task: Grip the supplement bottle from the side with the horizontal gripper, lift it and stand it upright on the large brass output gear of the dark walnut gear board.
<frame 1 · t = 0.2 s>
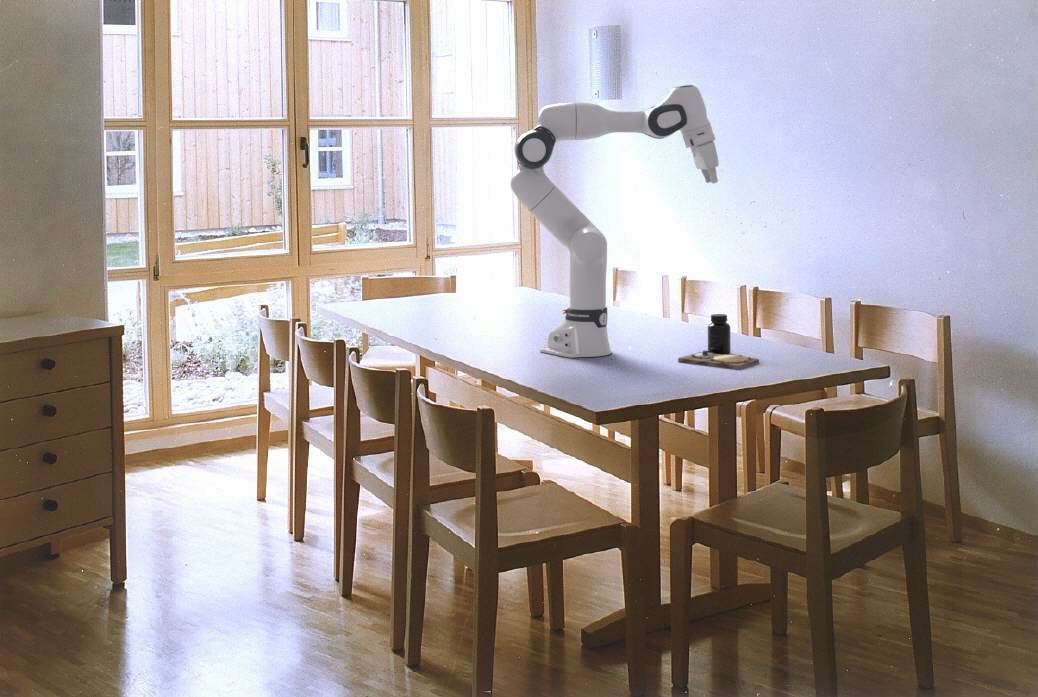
hand: (712, 182, 363), 51 cm above the table, tool tilted 15°, fingers open, 8 cm apart
supplement bottle: (718, 354, 368), on the table
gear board: (718, 362, 354), on the table
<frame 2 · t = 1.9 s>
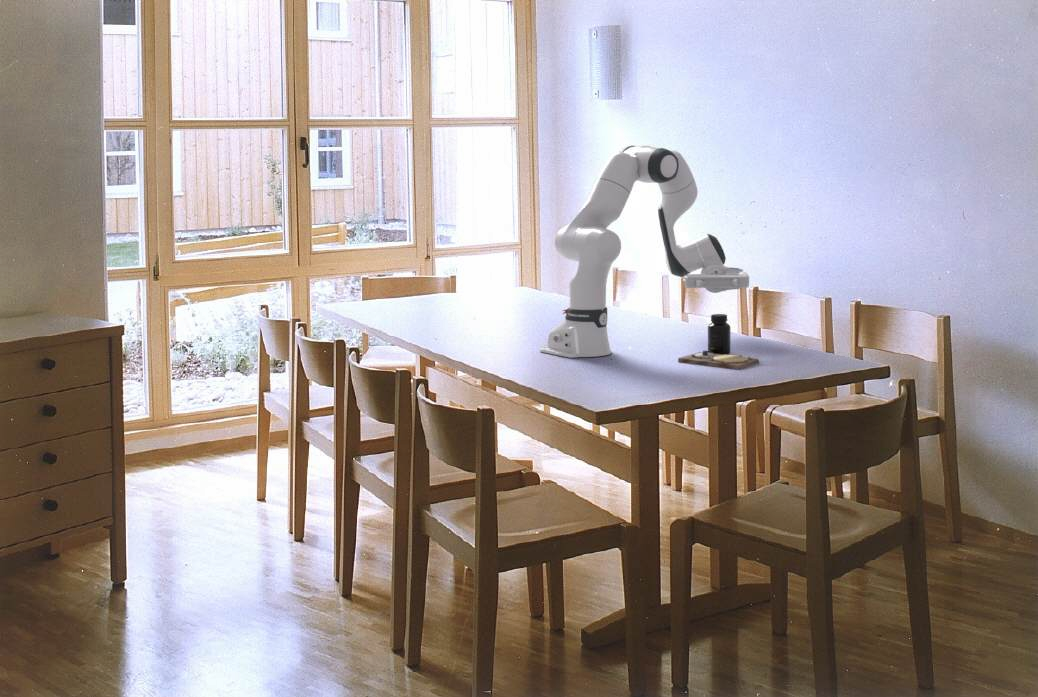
hand: (717, 284, 376), 20 cm above the table, tool horizontal, fingers open, 8 cm apart
nothing on the table moved.
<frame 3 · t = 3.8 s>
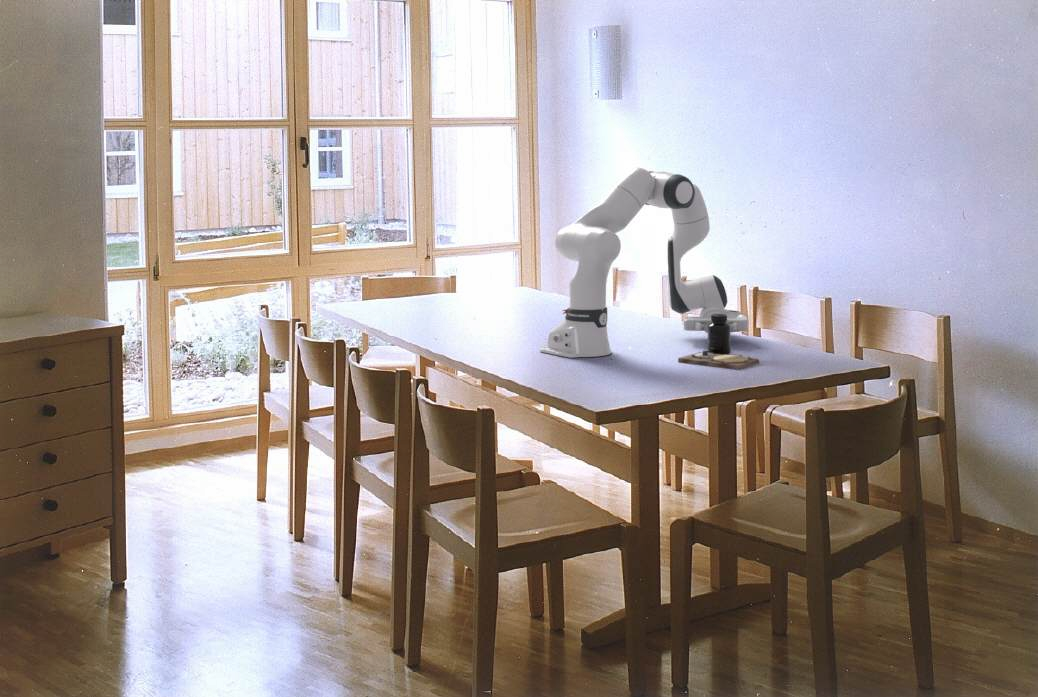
hand: (716, 327, 376), 6 cm above the table, tool horizontal, fingers open, 8 cm apart
nothing on the table moved.
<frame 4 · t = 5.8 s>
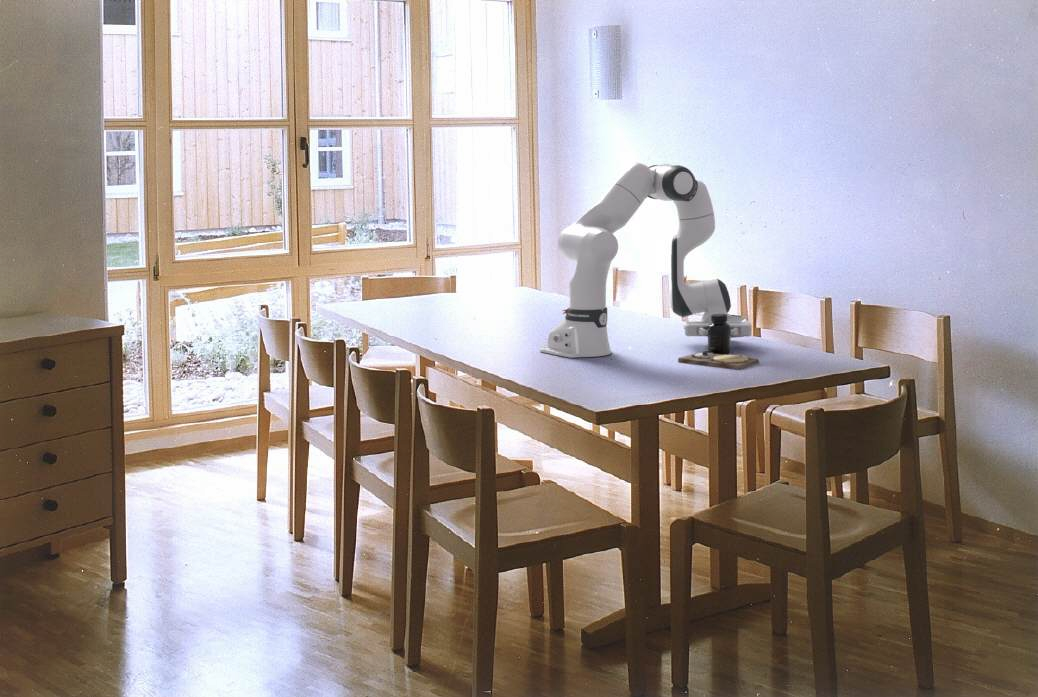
hand: (719, 333, 366), 7 cm above the table, tool horizontal, fingers closed on supplement bottle, 7 cm apart
supplement bottle: (718, 354, 368), on the table, touching gripper
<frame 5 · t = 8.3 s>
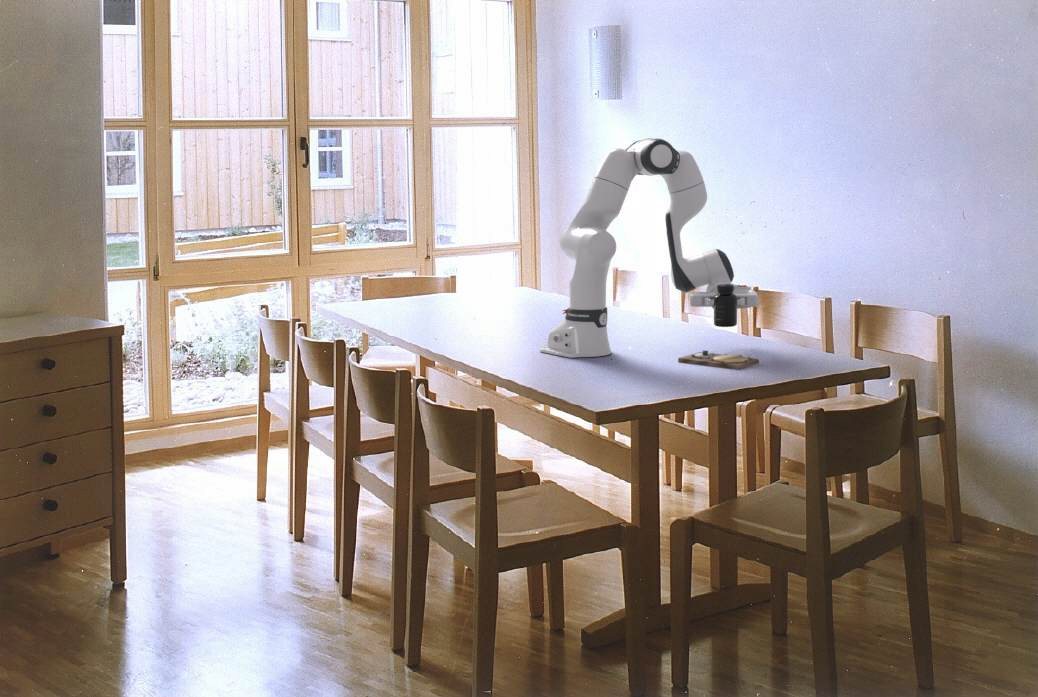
hand: (725, 303, 356), 17 cm above the table, tool horizontal, fingers closed on supplement bottle, 7 cm apart
supplement bottle: (725, 326, 358), point 10 cm above the table, touching gripper
when the fingers open (10 cm above the table, at t = 10.8 s): supplement bottle drops 1 cm, resting on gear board.
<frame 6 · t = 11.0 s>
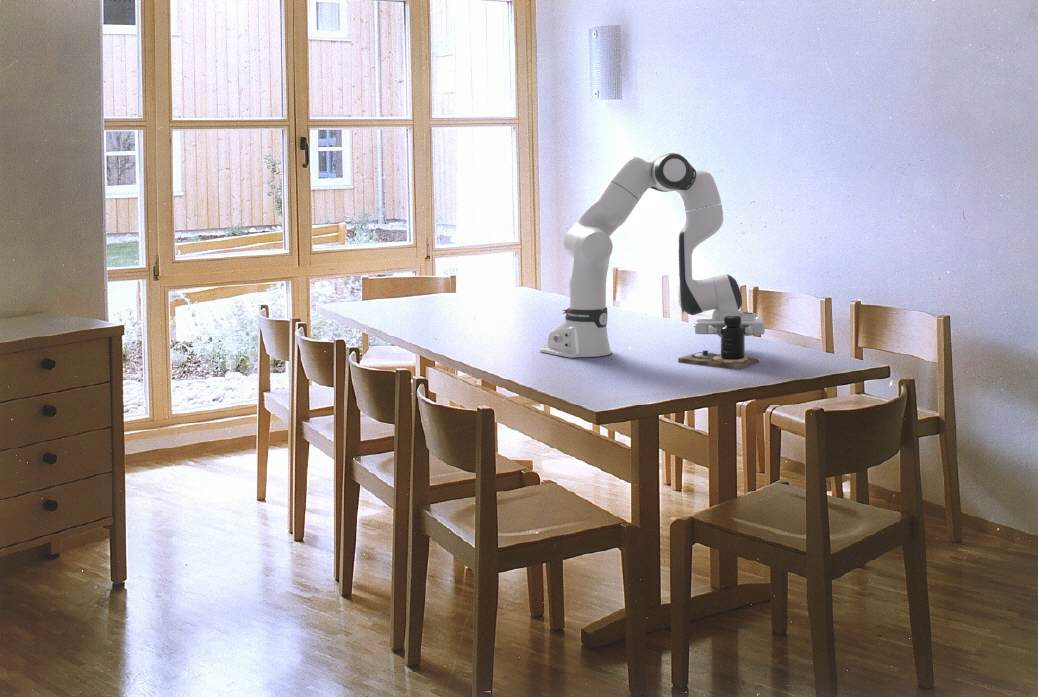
hand: (731, 331, 349), 10 cm above the table, tool horizontal, fingers open, 8 cm apart
supplement bottle: (732, 358, 351), point 2 cm above the table, touching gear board
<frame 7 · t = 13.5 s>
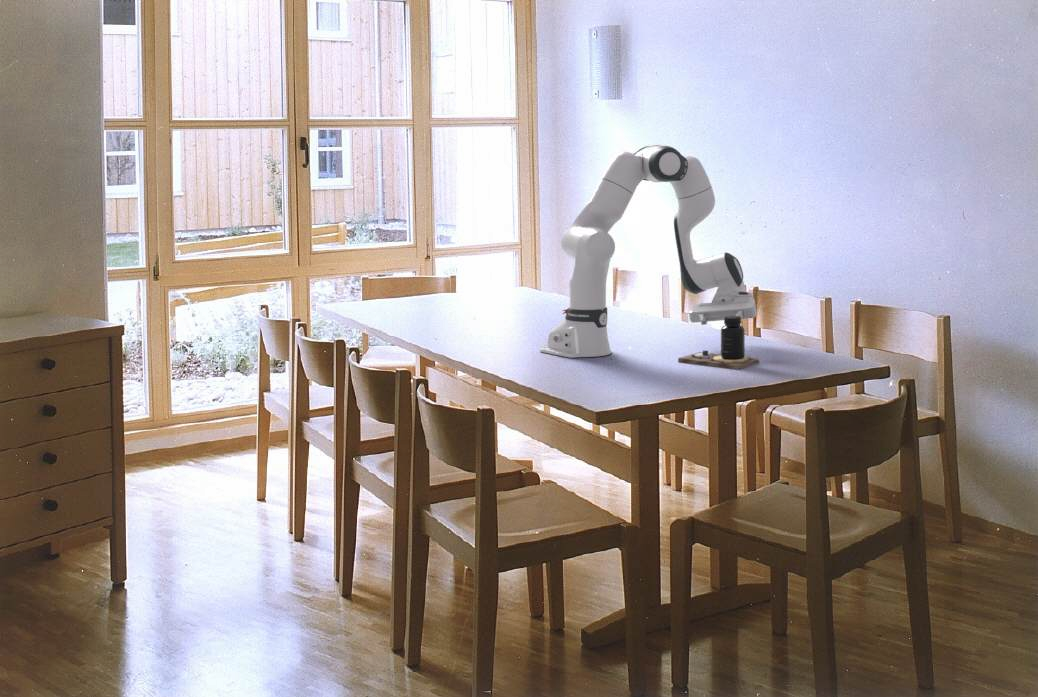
hand: (719, 321, 362), 11 cm above the table, tool horizontal, fingers open, 8 cm apart
nothing on the table moved.
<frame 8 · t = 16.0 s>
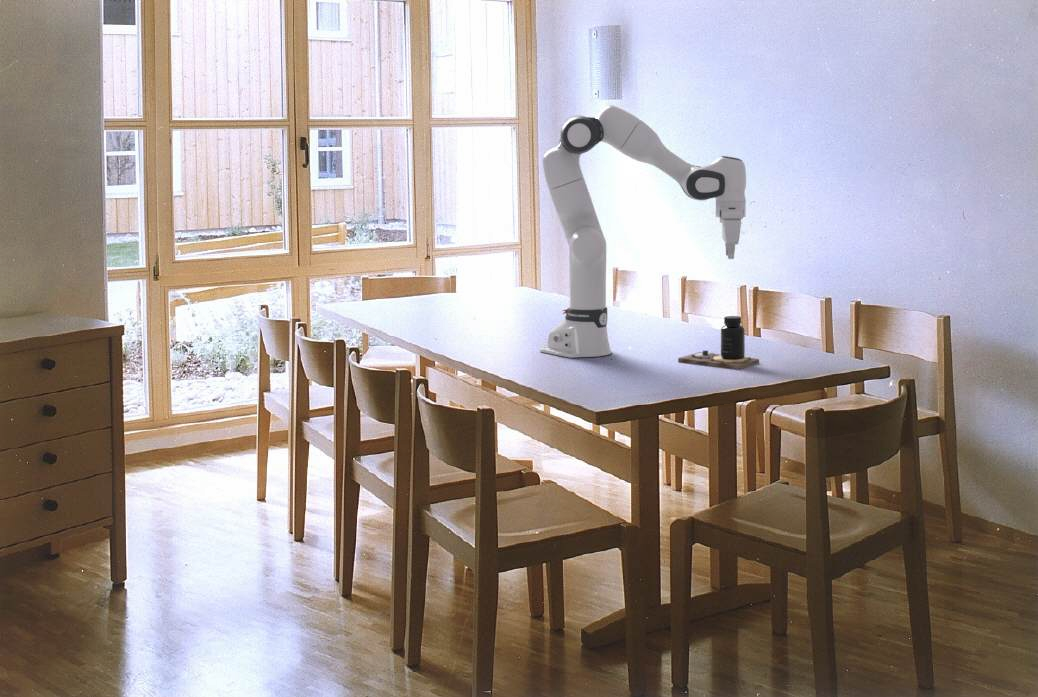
hand: (729, 257, 365), 29 cm above the table, tool pointing down, fingers open, 8 cm apart
nothing on the table moved.
at the end: supplement bottle 0.6 cm from the target spot on the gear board, point 1.6 cm above the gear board's base; supplement bottle tilted 0°; the gripper is holding nothing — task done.
